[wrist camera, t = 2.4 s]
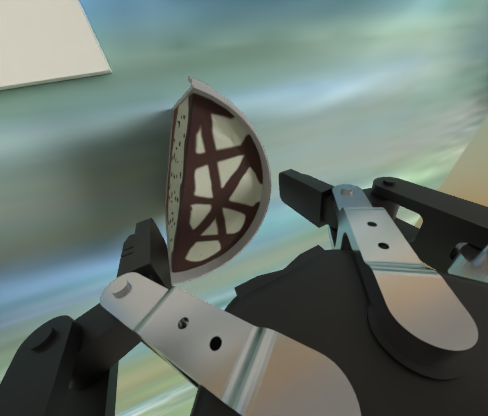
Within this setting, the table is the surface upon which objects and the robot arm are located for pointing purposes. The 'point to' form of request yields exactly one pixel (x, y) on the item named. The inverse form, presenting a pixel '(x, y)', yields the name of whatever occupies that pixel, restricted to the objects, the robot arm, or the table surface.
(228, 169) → the brown lattice half cylinder
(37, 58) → the board
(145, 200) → the table surface
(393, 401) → the robot arm
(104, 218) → the table surface
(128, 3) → the table surface
